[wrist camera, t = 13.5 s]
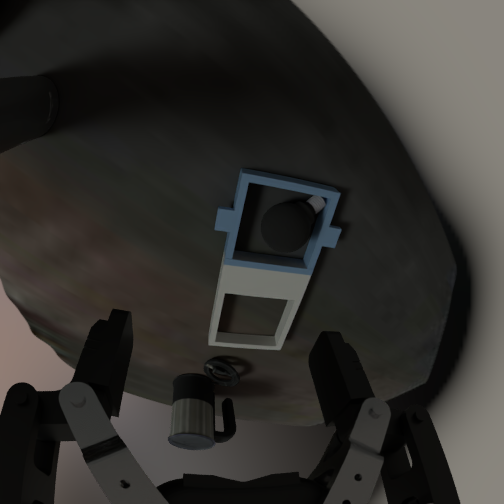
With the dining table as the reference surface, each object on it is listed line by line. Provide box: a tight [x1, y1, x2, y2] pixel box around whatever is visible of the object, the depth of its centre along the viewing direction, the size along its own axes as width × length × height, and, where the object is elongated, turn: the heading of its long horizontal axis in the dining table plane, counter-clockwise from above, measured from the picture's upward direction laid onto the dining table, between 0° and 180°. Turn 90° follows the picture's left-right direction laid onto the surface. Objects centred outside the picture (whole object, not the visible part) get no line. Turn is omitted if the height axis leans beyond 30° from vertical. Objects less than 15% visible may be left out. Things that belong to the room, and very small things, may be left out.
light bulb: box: [261, 195, 326, 253], centre depth 38 cm, size 6×6×10 cm
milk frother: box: [168, 359, 240, 450], centre depth 51 cm, size 14×16×15 cm
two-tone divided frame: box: [208, 168, 342, 350], centre depth 43 cm, size 17×30×3 cm, turn 168°
